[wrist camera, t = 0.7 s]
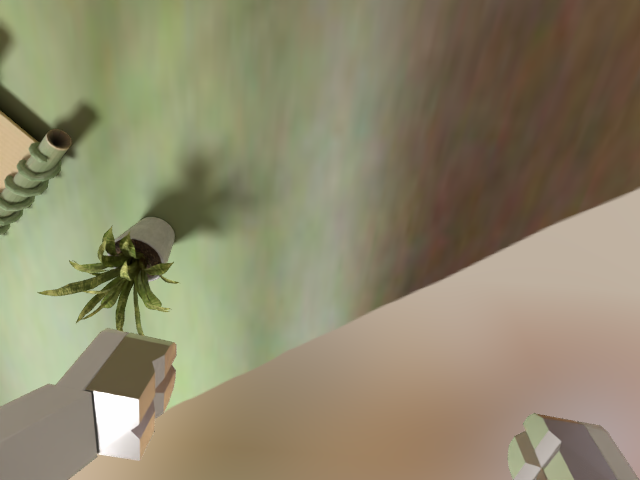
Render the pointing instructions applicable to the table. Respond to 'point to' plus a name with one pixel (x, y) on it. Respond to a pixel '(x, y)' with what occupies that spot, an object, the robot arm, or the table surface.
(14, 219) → the stretcher
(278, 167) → the table surface
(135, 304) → the house plant
